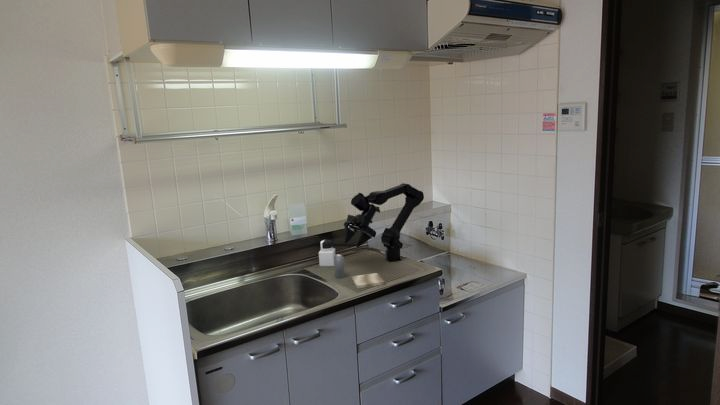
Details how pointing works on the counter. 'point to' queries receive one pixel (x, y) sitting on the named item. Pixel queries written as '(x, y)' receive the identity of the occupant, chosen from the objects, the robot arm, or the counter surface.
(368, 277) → the birch board
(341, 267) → the white-capped grey cylinder
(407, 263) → the counter surface
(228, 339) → the counter surface
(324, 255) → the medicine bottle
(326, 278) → the counter surface
